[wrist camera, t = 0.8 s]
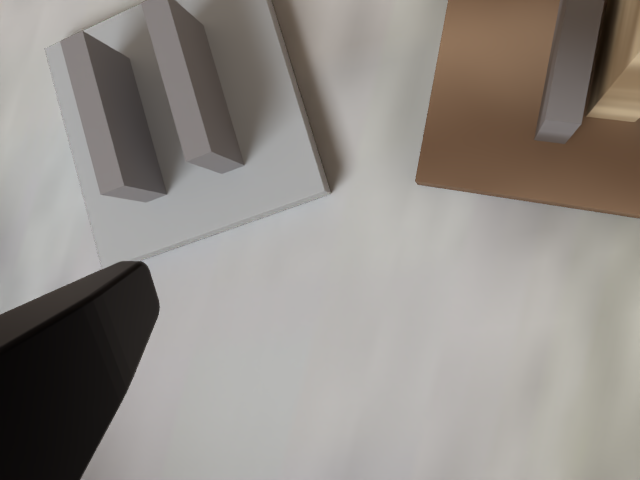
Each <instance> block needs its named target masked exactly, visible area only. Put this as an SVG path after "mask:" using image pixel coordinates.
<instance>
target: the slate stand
mask: <svg viewBox="0 0 640 480" xmlns="http://www.w3.org/2000/svg"><path fill="white" fill-rule="evenodd" d="M45 53H46V57H47V60H48V64H49V68H50V72H51V76H52V80H53V83H54V87H55V91H56V95H57V99H58V103H59V106H60V110H61V114H62V118H63V122H64V126H65V130H66V133H67V137H68V141H69V145H70V149H71V153H72V156H73V160H74V164H75V168H76V172H77V176H78V179H79V183H80V187H81V191H82V195H83V199H84V202H85V206H86V210H87V214H88V218H89V222H90V225H91V229H92V233H93V237H94V241H95V245H96V248H97V252H98V256H99V260H100V264H101V268H102V269H104V268H106V267H108V266H111V265H113V264H115V263H117V262H120V261H141V260H143V259H146V258H149V257H152V256H155V255H158V254H161V253H163V252H166V251H169V250H172V249H175V248H178V247H181V246H183V245H186V244H189V243H192V242H195V241H198V240H201V239H203V238H206V237H209V236H212V235H215V234H218V233H221V232H223V231H226V230H229V229H232V228H235V227H238V226H241V225H243V224H246V223H249V222H252V221H255V220H258V219H261V218H263V217H266V216H269V215H272V214H275V213H278V212H281V211H283V210H286V209H289V208H292V207H295V206H298V205H301V204H303V203H306V202H309V201H312V200H315V199H318V198H321V197H323V196H326V195H329V194H331V192H330V189H329V185H328V182H327V179H326V176H325V172H324V169H323V166H322V163H321V159H320V156H319V153H318V150H317V146H316V143H315V140H314V137H313V133H312V130H311V127H310V124H309V121H308V117H307V114H306V111H305V108H304V104H303V101H302V98H301V95H300V91H299V88H298V85H297V82H296V78H295V75H294V72H293V69H292V65H291V62H290V59H289V56H288V53H287V49H286V46H285V43H284V40H283V36H282V33H281V30H280V27H279V23H278V20H277V17H276V14H275V10H274V7H273V4H272V1H271V0H146V1H144V2H142V3H140V4H138V5H136V6H134V7H132V8H130V9H128V10H126V11H123V12H121V13H119V14H117V15H115V16H113V17H111V18H109V19H106V20H104V21H102V22H100V23H98V24H96V25H94V26H92V27H89V28H87V29H85V30H83V31H80V32H78V33H76V34H74V35H72V36H70V37H68V38H66V39H63V40H61V41H60V42H58V43H55V44H53V45H51V46H49V47H47V48H45Z"/></svg>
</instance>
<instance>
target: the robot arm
mask: <svg viewBox="0 0 640 480" xmlns="http://www.w3.org/2000/svg"><path fill="white" fill-rule="evenodd" d="M159 308H160V306H159V299H158V296H157V293H156V290H155V286H154V283H153V280H152V277H151V273H150V270H149V268H148V266H147V265H146V264H145V263H143V262H141V261H120V262H117V263H115V264H113V265H111V266H108V267H106V268H104V269H102V270H99V271H97V272H95V273H93V274H90V275H88V276H86V277H84V278H81V279H79V280H77V281H75V282H72V283H70V284H68V285H66V286H63V287H61V288H59V289H57V290H54V291H52V292H50V293H48V294H46V295H43V296H41V297H39V298H37V299H34V300H32V301H30V302H28V303H25V304H23V305H21V306H19V307H16V308H14V309H12V310H10V311H7V312H5V313H3V314H1V315H0V480H80V479H81V477H82V475H83V474H84V472H85V470H86V468H87V466H88V464H89V462H90V460H91V459H92V457H93V455H94V453H95V451H96V449H97V447H98V446H99V444H100V442H101V440H102V438H103V436H104V434H105V432H106V431H107V429H108V427H109V425H110V423H111V421H112V419H113V417H114V416H115V414H116V412H117V410H118V408H119V406H120V404H121V402H122V400H123V398H124V396H125V394H126V393H127V390H128V388H129V386H130V384H131V381H132V379H133V377H134V374H135V372H136V369H137V367H138V364H139V362H140V360H141V357H142V355H143V352H144V350H145V347H146V345H147V342H148V340H149V337H150V335H151V333H152V330H153V328H154V325H155V323H156V320H157V318H158V315H159Z"/></svg>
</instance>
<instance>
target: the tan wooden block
mask: <svg viewBox="0 0 640 480" xmlns="http://www.w3.org/2000/svg"><path fill="white" fill-rule="evenodd" d="M586 117H593V118H602V119H611V120H619V121H628V122H635V121H637V120H638V119H639V118H640V0H608V2H607V8H606V13H605V18H604V24H603V29H602V34H601V40H600V45H599V50H598V56H597V61H596V66H595V72H594V77H593V82H592V88H591V93H590V98H589V104H588V109H587V114H586Z"/></svg>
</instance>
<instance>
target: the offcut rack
mask: <svg viewBox="0 0 640 480" xmlns="http://www.w3.org/2000/svg"><path fill="white" fill-rule="evenodd" d="M607 2H608V0H448V4H447V10H446V15H445V21H444V26H443V32H442V37H441V43H440V48H439V54H438V59H437V64H436V70H435V75H434V81H433V86H432V92H431V97H430V103H429V108H428V114H427V119H426V124H425V130H424V135H423V141H422V146H421V152H420V157H419V163H418V168H417V174H416V179H415V182H416V183H417V184H418V185H424V186H431V187H437V188H444V189H450V190H457V191H463V192H470V193H477V194H483V195H490V196H496V197H503V198H509V199H516V200H522V201H529V202H536V203H542V204H549V205H555V206H562V207H568V208H575V209H581V210H588V211H594V212H601V213H608V214H614V215H621V216H627V217H634V218H640V118H639V119H638V120H637V121H635V122H628V121H619V120H611V119H602V118H593V117H586V114H587V109H588V104H589V98H590V93H591V88H592V82H593V77H594V72H595V66H596V61H597V56H598V50H599V45H600V40H601V34H602V29H603V24H604V18H605V13H606V8H607Z"/></svg>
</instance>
